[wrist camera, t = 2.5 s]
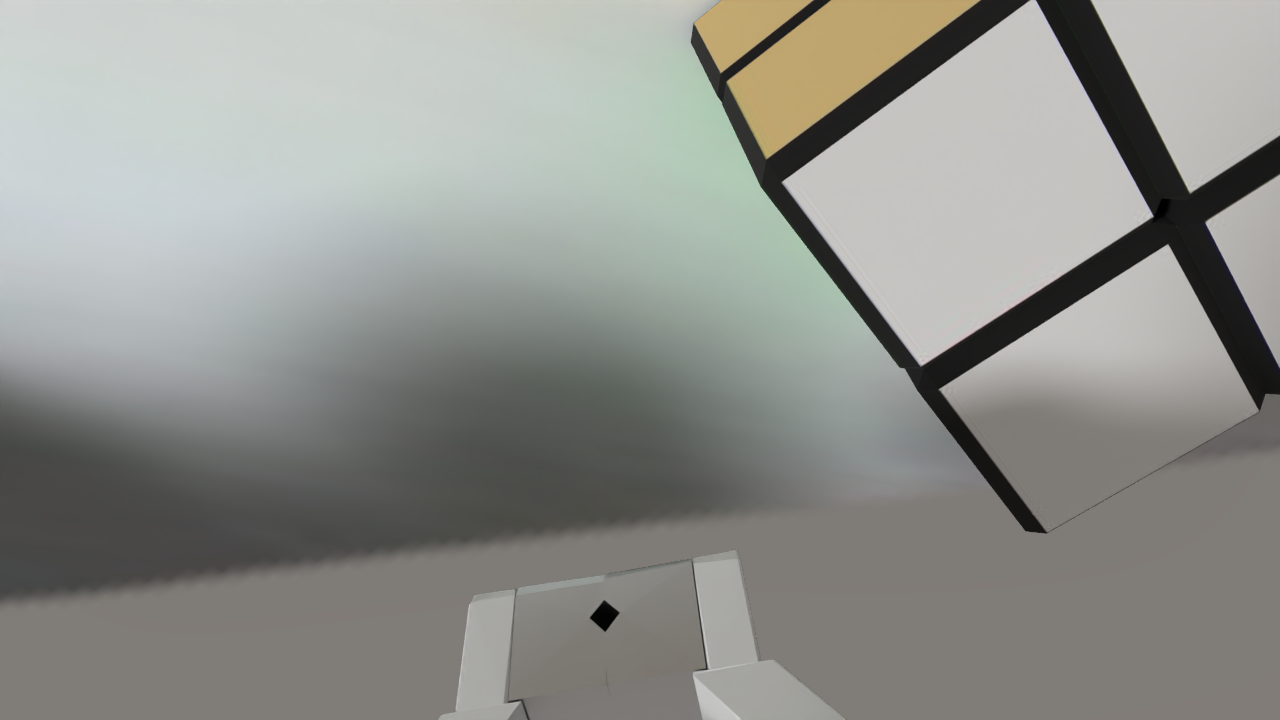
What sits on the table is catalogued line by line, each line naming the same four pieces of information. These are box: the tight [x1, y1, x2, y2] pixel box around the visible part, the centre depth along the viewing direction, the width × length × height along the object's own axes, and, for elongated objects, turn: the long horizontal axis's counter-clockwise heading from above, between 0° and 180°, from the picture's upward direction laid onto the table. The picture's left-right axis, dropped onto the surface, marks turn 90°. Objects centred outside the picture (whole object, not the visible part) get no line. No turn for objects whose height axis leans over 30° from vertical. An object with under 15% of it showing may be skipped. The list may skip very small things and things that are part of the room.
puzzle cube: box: [691, 0, 1280, 533], centre depth 21 cm, size 10×10×10 cm
